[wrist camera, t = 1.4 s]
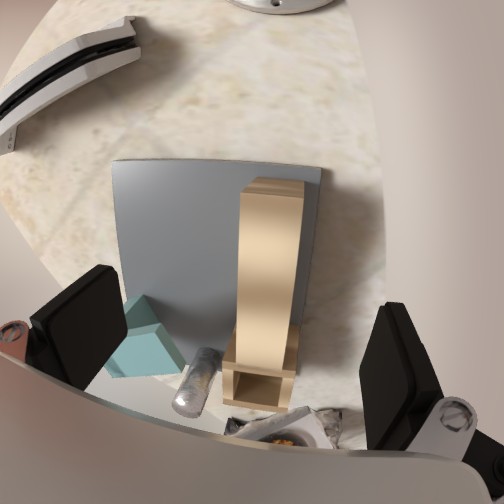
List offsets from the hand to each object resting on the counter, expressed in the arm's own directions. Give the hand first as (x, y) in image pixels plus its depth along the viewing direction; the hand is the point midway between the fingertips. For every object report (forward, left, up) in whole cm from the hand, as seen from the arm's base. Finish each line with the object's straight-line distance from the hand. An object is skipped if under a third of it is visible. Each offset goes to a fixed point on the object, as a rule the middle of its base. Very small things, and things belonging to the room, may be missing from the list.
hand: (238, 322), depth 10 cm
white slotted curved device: (-12, -21, -16) cm, 29 cm away
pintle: (+17, -6, -15) cm, 23 cm away
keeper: (+11, -10, -15) cm, 21 cm away
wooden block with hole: (+7, 0, -15) cm, 16 cm away
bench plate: (+8, -6, -16) cm, 18 cm away
